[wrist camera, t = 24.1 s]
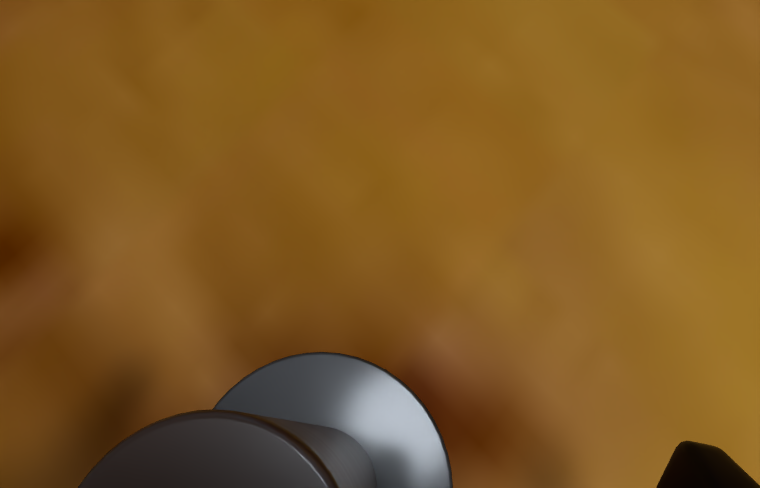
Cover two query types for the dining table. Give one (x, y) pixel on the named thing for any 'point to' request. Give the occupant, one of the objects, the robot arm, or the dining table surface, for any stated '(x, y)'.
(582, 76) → the dining table surface
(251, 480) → the grey peg stand
